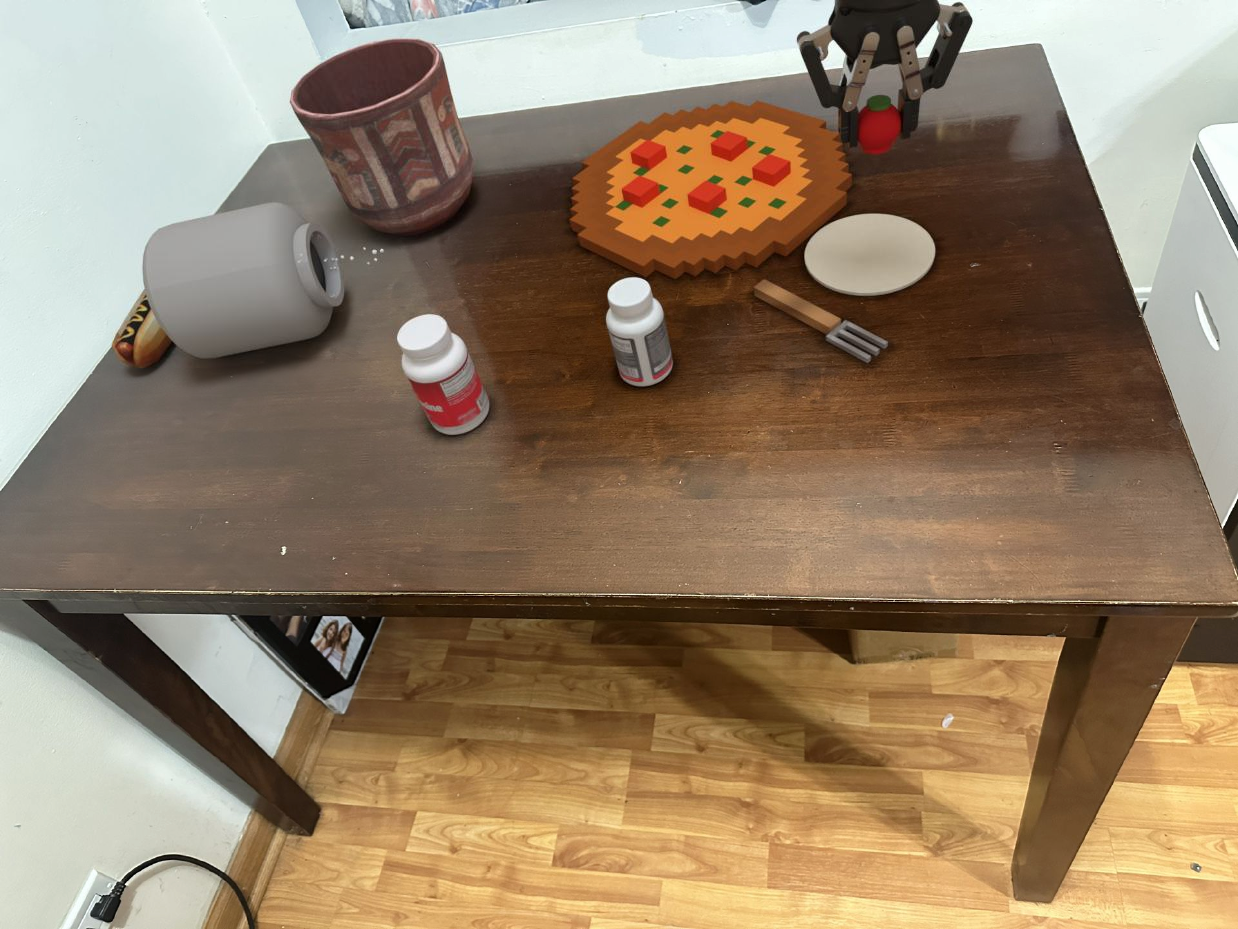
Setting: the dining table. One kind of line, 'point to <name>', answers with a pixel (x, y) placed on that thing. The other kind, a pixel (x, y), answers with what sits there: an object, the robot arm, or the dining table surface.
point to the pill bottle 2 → (638, 333)
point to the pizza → (709, 189)
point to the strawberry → (878, 125)
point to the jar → (242, 280)
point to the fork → (820, 320)
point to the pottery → (388, 134)
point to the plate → (869, 254)
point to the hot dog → (140, 336)
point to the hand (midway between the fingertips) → (877, 138)
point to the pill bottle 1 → (442, 375)
